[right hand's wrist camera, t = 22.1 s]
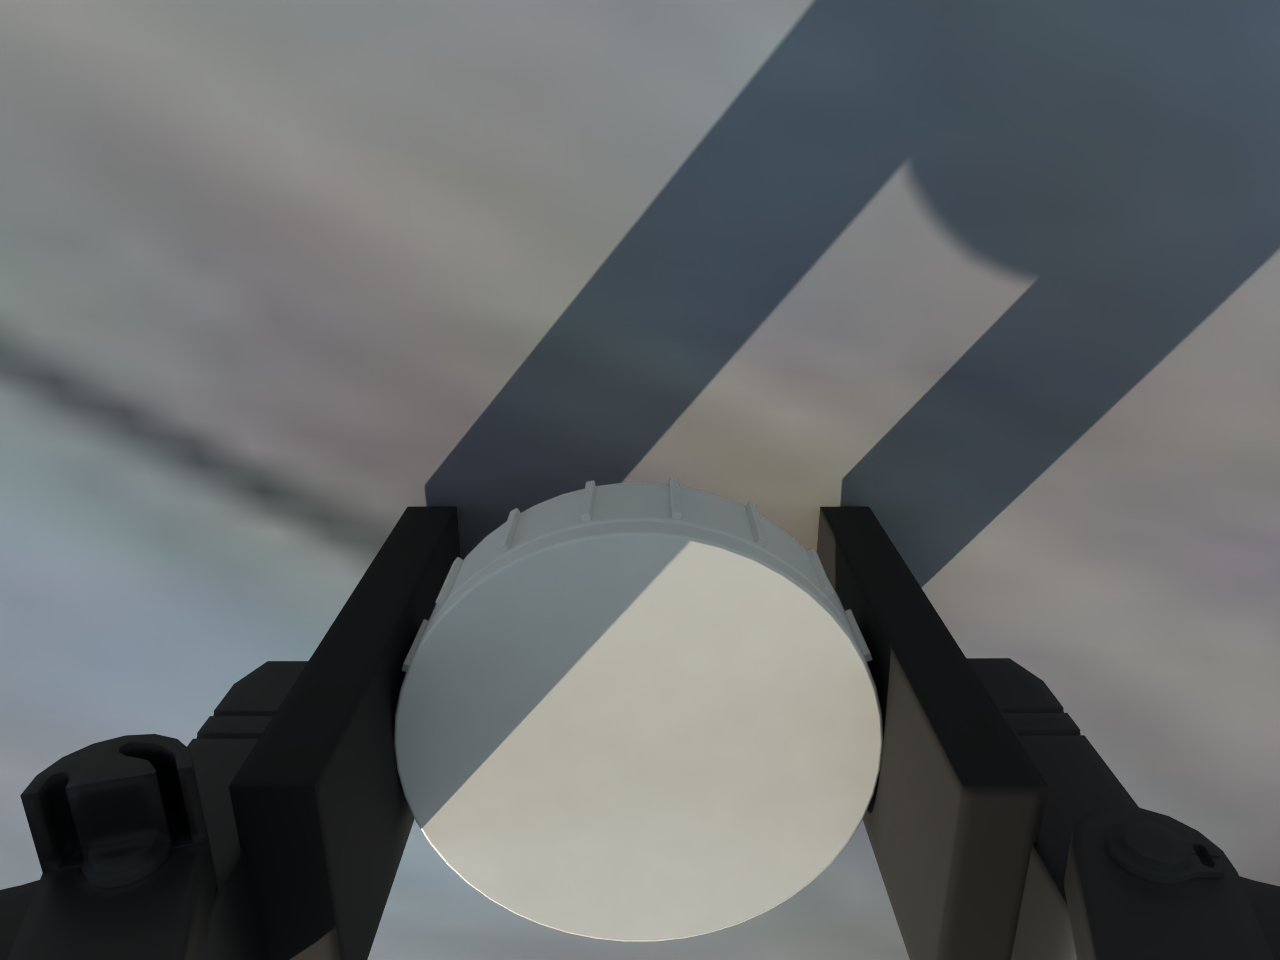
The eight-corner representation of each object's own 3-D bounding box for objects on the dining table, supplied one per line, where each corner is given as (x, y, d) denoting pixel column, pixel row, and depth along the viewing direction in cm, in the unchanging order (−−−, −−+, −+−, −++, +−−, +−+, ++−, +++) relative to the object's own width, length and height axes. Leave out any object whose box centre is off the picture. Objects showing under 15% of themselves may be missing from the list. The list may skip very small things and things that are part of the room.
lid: (945, 694, 12) (988, 773, 11) (621, 918, 13) (618, 1015, 12) (662, 379, 11) (665, 418, 9) (328, 665, 12) (283, 741, 10)
